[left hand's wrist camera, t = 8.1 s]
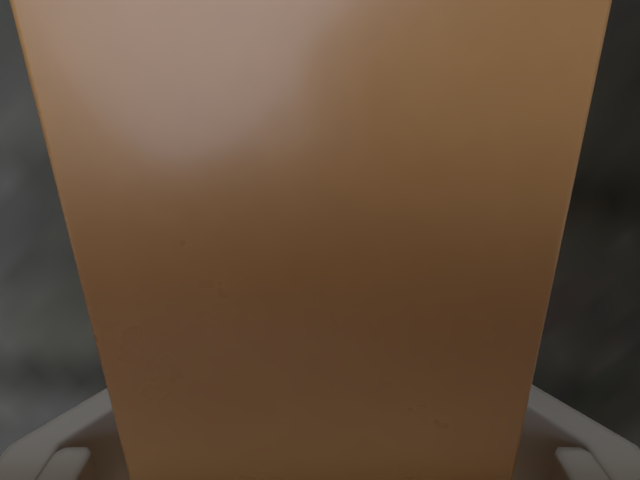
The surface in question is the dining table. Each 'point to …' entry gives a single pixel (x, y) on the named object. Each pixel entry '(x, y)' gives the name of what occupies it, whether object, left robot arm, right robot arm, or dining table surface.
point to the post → (315, 222)
